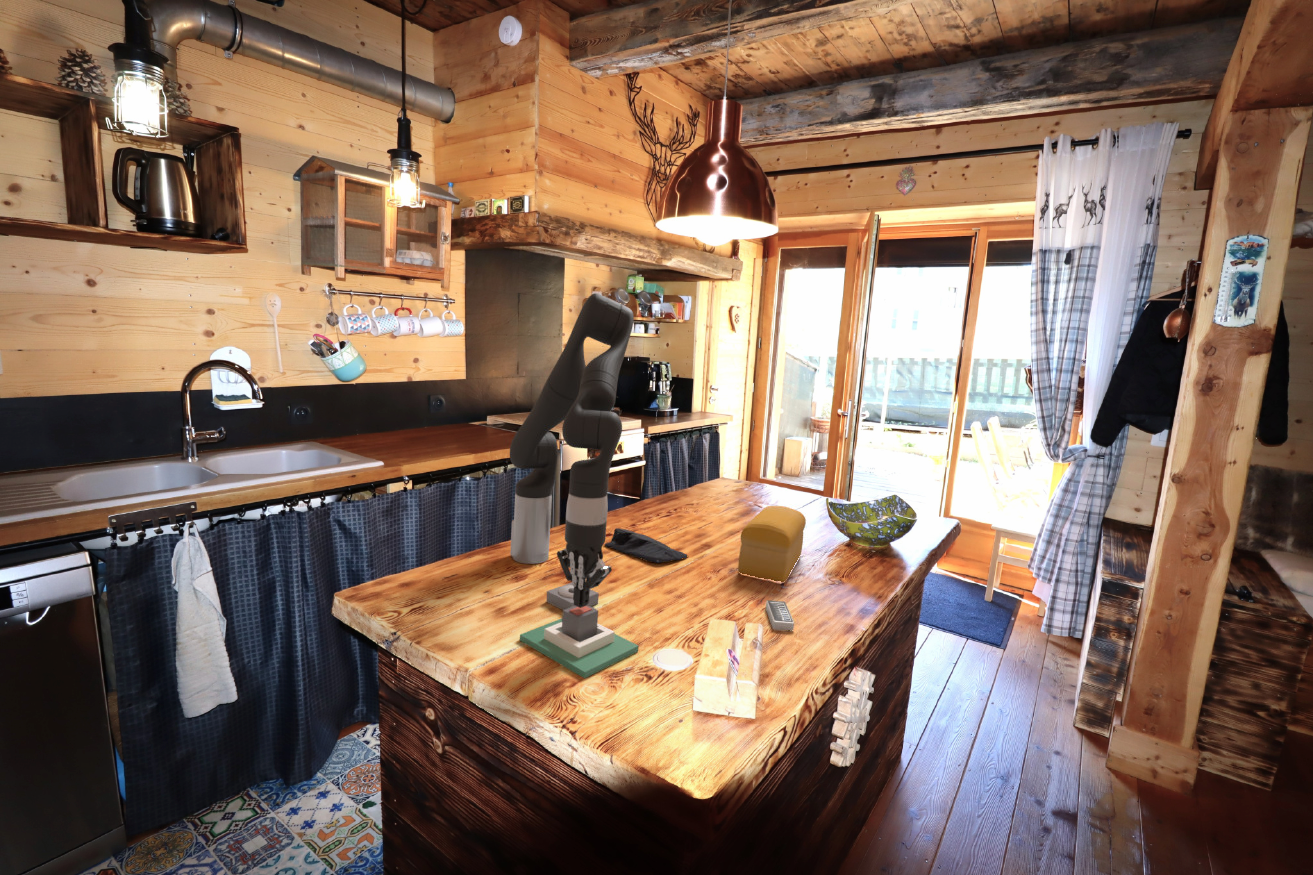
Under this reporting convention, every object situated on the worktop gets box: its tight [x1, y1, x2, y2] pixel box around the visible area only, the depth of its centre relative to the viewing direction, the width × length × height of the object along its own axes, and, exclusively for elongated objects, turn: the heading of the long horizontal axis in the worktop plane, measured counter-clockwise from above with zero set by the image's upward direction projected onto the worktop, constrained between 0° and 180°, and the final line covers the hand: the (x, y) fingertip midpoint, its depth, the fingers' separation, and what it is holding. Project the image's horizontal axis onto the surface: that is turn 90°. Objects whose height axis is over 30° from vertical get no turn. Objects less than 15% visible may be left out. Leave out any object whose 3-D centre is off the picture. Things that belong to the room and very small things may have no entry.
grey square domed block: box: [545, 582, 600, 611], centre depth 137 cm, size 8×8×3 cm
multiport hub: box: [765, 599, 795, 632], centre depth 138 cm, size 4×11×2 cm, turn 179°
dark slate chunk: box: [604, 527, 689, 564], centre depth 174 cm, size 15×22×5 cm
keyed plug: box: [561, 605, 599, 642], centre depth 119 cm, size 4×6×6 cm
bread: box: [737, 505, 807, 582], centre depth 170 cm, size 24×13×15 cm, turn 157°
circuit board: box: [519, 616, 640, 679], centre depth 119 cm, size 18×14×3 cm
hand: (580, 605), depth 118 cm, fingers closed
